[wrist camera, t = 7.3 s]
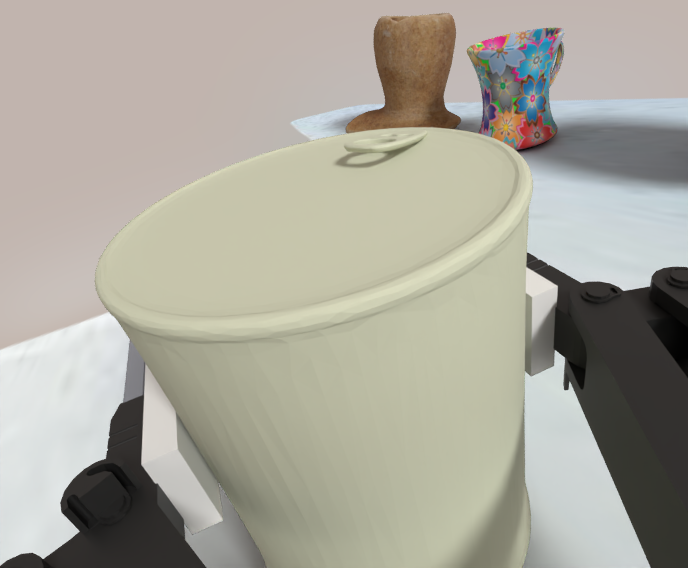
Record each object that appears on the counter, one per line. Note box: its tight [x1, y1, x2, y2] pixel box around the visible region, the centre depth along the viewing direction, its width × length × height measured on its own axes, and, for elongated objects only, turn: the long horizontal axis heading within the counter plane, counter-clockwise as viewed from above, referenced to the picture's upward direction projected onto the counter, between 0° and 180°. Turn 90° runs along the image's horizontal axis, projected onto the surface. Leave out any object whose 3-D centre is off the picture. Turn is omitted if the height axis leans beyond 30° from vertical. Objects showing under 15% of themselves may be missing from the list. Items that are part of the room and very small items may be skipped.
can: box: [95, 127, 533, 568], centre depth 13 cm, size 9×9×12 cm
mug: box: [467, 28, 564, 150], centre depth 49 cm, size 12×9×11 cm
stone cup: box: [346, 13, 461, 133], centre depth 60 cm, size 15×12×15 cm
